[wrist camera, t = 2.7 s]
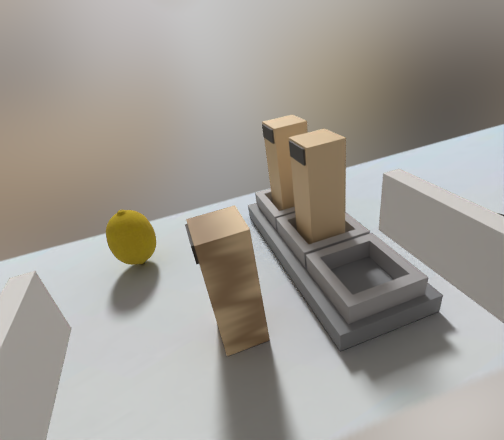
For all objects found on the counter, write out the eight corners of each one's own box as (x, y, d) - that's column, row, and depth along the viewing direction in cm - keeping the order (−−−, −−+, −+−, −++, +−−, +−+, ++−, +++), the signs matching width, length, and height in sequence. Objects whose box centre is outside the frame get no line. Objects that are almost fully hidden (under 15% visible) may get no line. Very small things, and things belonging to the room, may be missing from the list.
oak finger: (255, 309, 32) (234, 205, 26) (269, 340, 28) (249, 229, 22) (215, 323, 31) (183, 220, 25) (224, 357, 28) (191, 247, 22)
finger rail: (310, 199, 49) (305, 106, 42) (439, 311, 28) (472, 165, 21) (249, 216, 47) (233, 122, 40) (340, 351, 27) (339, 205, 19)
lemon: (172, 257, 41) (153, 204, 37) (136, 283, 38) (111, 228, 34) (147, 246, 45) (128, 195, 41) (112, 268, 41) (87, 216, 37)
